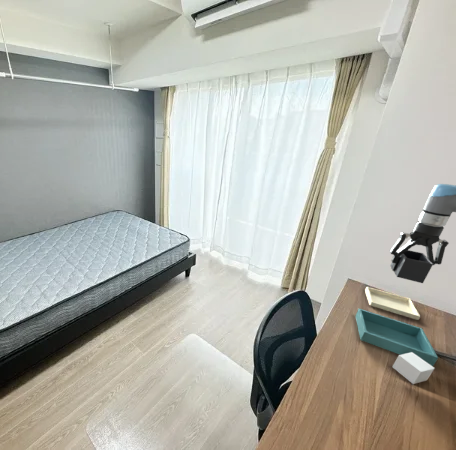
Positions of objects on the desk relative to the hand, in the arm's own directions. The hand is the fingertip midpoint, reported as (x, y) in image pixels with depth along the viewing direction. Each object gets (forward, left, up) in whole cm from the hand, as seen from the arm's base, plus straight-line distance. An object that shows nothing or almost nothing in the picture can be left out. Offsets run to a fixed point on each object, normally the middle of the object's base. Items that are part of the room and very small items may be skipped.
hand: (406, 272), depth 104 cm
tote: (+5, +25, -18) cm, 32 cm away
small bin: (0, 0, -1) cm, 1 cm away
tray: (0, -2, -18) cm, 19 cm away
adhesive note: (+3, +41, -19) cm, 45 cm away
